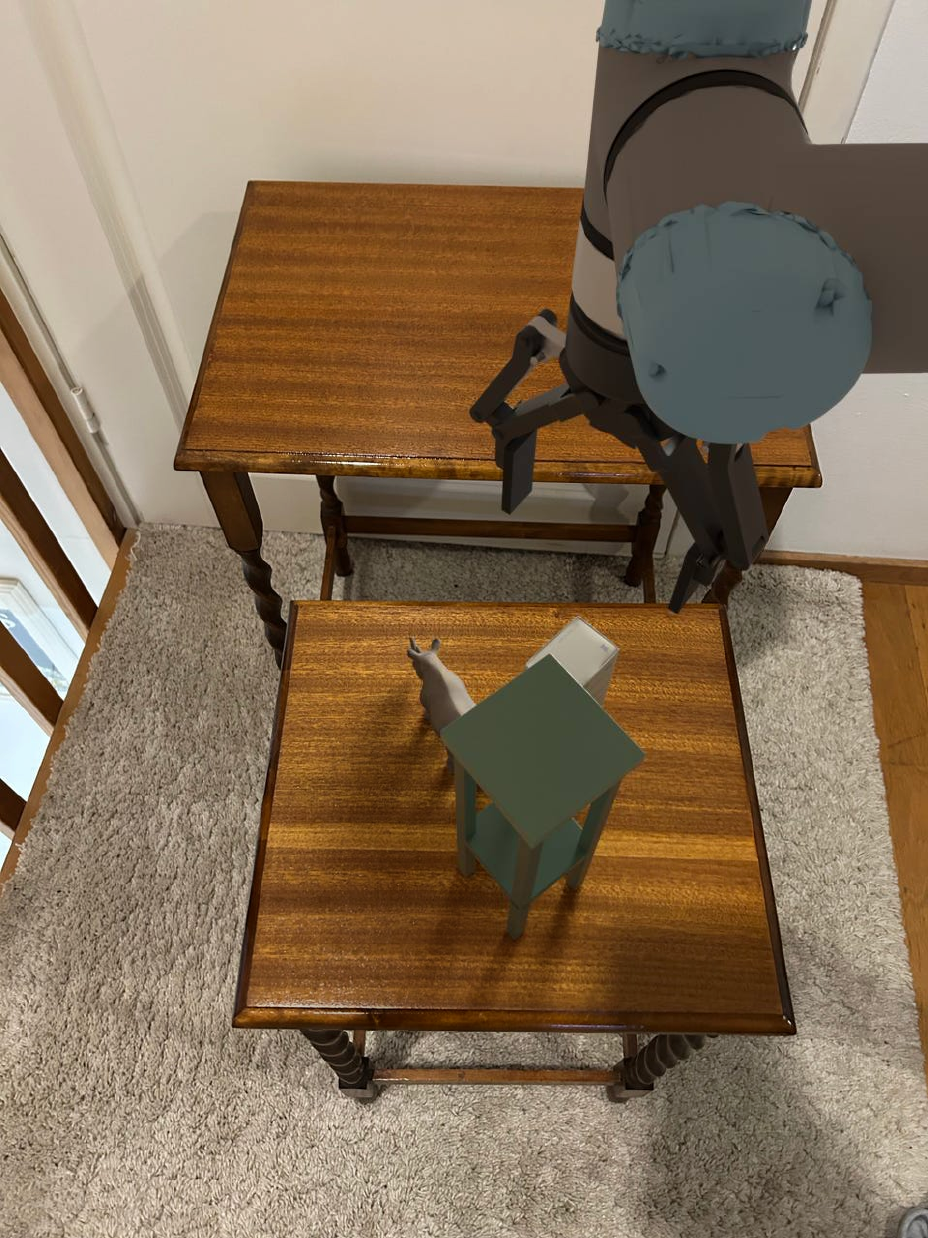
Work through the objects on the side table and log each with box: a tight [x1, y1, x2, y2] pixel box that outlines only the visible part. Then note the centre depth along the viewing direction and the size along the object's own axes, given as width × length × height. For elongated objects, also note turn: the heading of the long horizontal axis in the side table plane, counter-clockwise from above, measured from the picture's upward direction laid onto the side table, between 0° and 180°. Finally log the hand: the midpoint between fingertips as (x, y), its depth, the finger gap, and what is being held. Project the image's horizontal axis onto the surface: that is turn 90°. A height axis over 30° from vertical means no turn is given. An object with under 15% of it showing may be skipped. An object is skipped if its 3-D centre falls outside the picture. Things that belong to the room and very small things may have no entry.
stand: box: [453, 756, 624, 941], centre depth 62 cm, size 7×7×25 cm
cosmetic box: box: [524, 616, 620, 709], centre depth 75 cm, size 6×4×12 cm
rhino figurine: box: [406, 635, 477, 774], centre depth 78 cm, size 4×14×6 cm, turn 25°
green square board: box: [440, 653, 646, 849], centre depth 52 cm, size 8×8×1 cm
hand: (596, 547), depth 64 cm, fingers open, 13 cm apart
